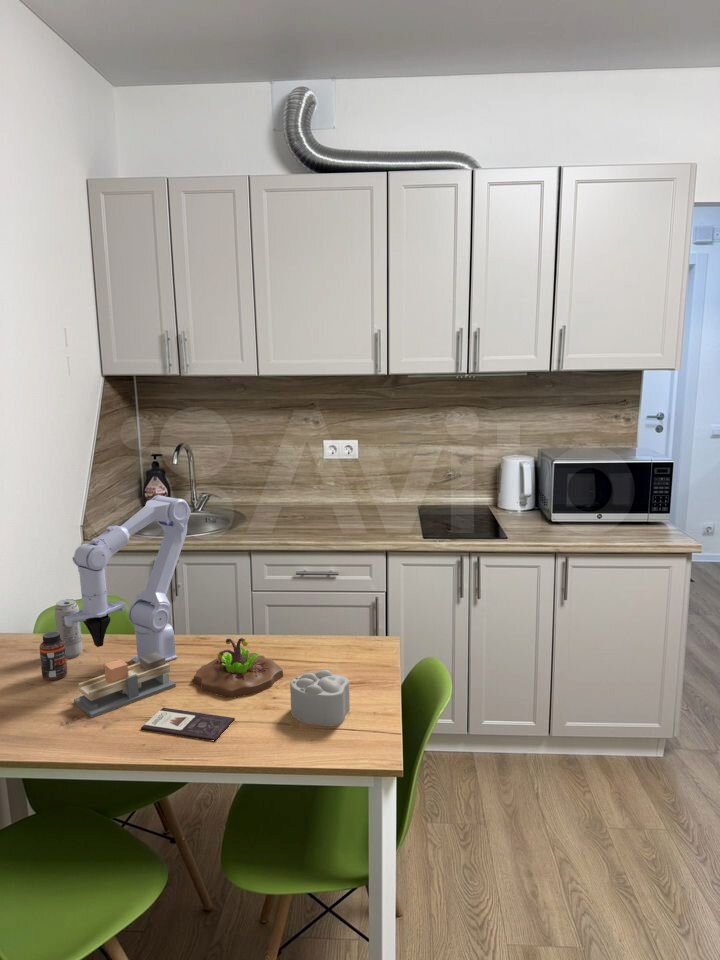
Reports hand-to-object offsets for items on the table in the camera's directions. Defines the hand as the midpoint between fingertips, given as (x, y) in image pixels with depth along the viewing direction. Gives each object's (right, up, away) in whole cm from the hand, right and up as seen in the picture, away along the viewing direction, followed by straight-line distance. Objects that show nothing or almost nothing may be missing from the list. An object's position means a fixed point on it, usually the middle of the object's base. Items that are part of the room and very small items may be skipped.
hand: (98, 645), depth 174 cm
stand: (+8, -11, -4) cm, 14 cm away
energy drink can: (-14, -7, +18) cm, 24 cm away
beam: (+8, -9, -4) cm, 13 cm away
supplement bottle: (-13, -9, +6) cm, 17 cm away
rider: (+7, -7, -7) cm, 12 cm away
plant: (+34, -10, +3) cm, 36 cm away
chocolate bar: (+27, -14, -18) cm, 35 cm away
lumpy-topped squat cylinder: (+55, -12, -14) cm, 58 cm away
